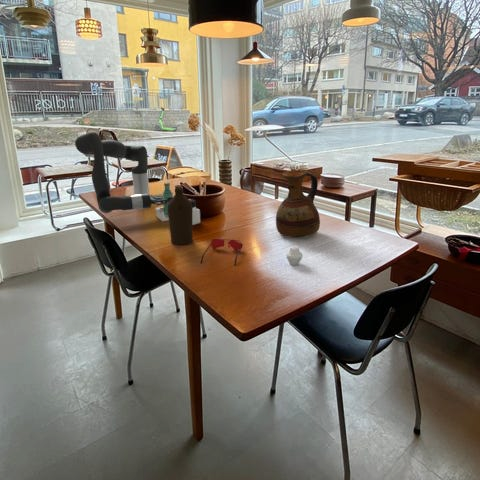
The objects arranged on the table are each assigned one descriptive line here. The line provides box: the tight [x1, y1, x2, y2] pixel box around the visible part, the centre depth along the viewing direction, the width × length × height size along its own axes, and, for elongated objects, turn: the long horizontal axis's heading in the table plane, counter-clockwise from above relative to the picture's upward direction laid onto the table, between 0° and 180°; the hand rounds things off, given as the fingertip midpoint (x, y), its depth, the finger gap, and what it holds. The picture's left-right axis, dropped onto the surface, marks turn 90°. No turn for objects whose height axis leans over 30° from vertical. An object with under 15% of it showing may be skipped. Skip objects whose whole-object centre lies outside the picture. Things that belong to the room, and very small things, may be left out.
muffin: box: [285, 246, 303, 266], centre depth 140 cm, size 6×6×7 cm
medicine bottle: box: [187, 198, 201, 226], centre depth 186 cm, size 7×7×12 cm
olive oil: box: [167, 184, 194, 246], centre depth 159 cm, size 11×11×25 cm
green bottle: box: [162, 182, 174, 215], centre depth 193 cm, size 5×5×16 cm
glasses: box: [200, 238, 244, 267], centre depth 147 cm, size 14×16×5 cm
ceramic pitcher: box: [275, 169, 321, 239], centre depth 167 cm, size 20×20×30 cm
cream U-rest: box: [155, 206, 169, 222], centre depth 197 cm, size 11×11×4 cm
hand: (172, 198), depth 194 cm, fingers closed on green bottle, 5 cm apart
